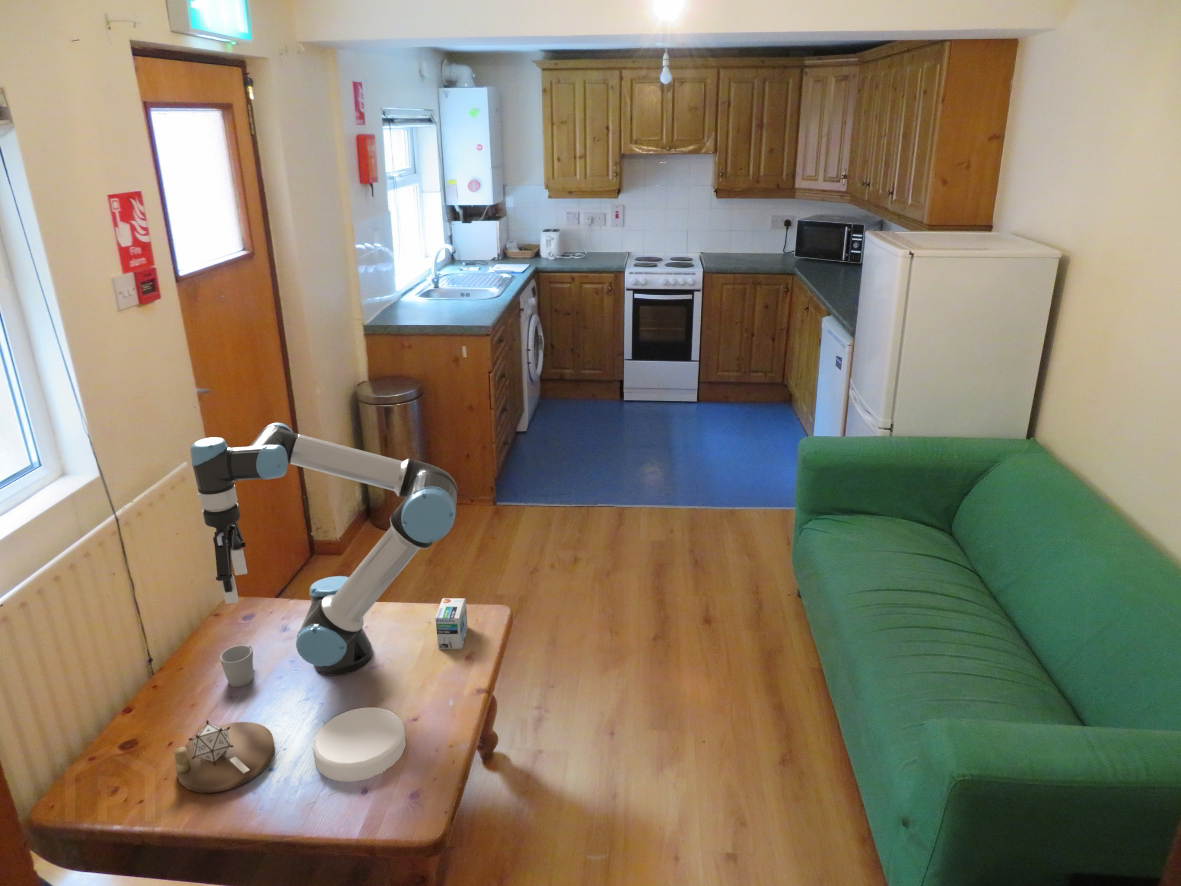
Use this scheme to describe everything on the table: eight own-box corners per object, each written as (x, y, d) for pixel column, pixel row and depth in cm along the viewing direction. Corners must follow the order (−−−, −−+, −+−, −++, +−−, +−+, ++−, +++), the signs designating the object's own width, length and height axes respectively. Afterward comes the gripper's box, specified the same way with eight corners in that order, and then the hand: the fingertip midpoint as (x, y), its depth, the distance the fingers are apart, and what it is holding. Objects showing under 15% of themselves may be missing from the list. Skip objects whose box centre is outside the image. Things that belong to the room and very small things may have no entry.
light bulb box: (462, 653, 220) (459, 618, 216) (437, 653, 220) (434, 618, 216) (468, 630, 230) (466, 597, 226) (444, 630, 230) (442, 597, 226)
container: (310, 735, 190) (308, 718, 189) (397, 712, 198) (395, 696, 196) (319, 794, 173) (316, 776, 171) (414, 766, 180) (412, 749, 179)
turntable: (247, 717, 195) (242, 693, 193) (291, 755, 183) (287, 729, 180) (161, 763, 181) (155, 737, 179) (203, 807, 169) (197, 780, 166)
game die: (249, 730, 183) (219, 716, 175) (234, 770, 178) (203, 757, 170) (218, 729, 186) (187, 715, 178) (203, 768, 181) (170, 755, 173)
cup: (219, 690, 206) (213, 661, 203) (240, 666, 216) (235, 638, 213) (247, 692, 205) (241, 663, 202) (267, 668, 215) (262, 640, 212)
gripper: (212, 486, 196) (228, 565, 203) (190, 531, 173) (210, 617, 180) (245, 482, 197) (260, 560, 205) (228, 526, 174) (246, 612, 182)
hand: (237, 587), depth 192 cm, fingers open, 13 cm apart
